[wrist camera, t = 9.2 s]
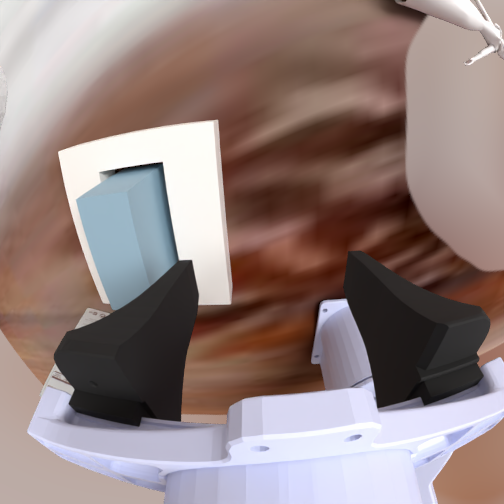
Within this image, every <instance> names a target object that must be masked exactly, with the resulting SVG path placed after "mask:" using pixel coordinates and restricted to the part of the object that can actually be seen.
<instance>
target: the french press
mask: <svg viewBox="0 0 504 504" xmlns="http://www.w3.org/2000/svg"><path fill="white" fill-rule="evenodd" d="M6 101H7V82H6V76H5V74H4V71H3V69H2V67H1V66H0V128H1V125H2V121H3V118H4V115H5V109H6Z"/></svg>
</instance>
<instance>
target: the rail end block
mask: <svg viewBox="0 0 504 504" xmlns="http://www.w3.org/2000/svg"><path fill="white" fill-rule="evenodd" d="M76 202H77V206H78V210H79V214H80V218H81V221H82V225H83V228H84V232H85V235H86V238H87V242H88V245H89V248H90V251H91V254H92V257H93V260H94V263H95V266H96V269H97V271H98V274H99V277H100V280H101V282H102V285H103V287H104V290H105V293H106V295H107V298H108V300H109V302H110V305H111V307H112V310H118V309H120V308H122V307H123V306H125V305H126V304H128V303H129V302H131V301H132V300H134V299H135V298H136V297H138V296H139V295H140V294H142V293H143V292H144V291H145V290H146V289H148V288H149V287H150V286H151V285H152V284H154V283H155V282H156V281H157V280H158V279H159V278H160V277H161V276H163V275H164V274H165V273H166V272H167V271H168V270H169V269H170V268H171V267H172V266H173V265H174V264H176V263H177V261H178V259H179V257H178V252H177V246H176V241H175V236H174V230H173V225H172V219H171V213H170V207H169V201H168V195H167V188H166V181H165V174H164V167H163V163H162V164H155V165H147V166H140V167H134V168H128V169H123V170H121V171H119V172H118V173H116V174H114V175H113V176H111V177H109V178H108V179H106V180H105V181H103V182H101V183H100V184H98V185H97V186H95V187H94V188H92V189H90V190H89V191H87V192H86V193H84V194H83V195H81V196H80V197H79V198H77V199H76Z"/></svg>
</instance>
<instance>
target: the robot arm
mask: <svg viewBox="0 0 504 504" xmlns="http://www.w3.org/2000/svg"><path fill="white" fill-rule="evenodd" d="M343 288H344V292H345V296H346V299H337V300H325V301H322V302H321V303H320V306H319V313H318V320H317V327H316V333H315V339H314V345H313V351H312V357H311V363H312V364H320V366H321V370H322V375H323V380H324V385H325V389H326V390H324V391H315V392H306V393H296V394H283V395H266V396H257V397H251V398H245V399H243V400H241V401H239V402H237V403H235V404H233V405H231V406H230V407H229V410H228V413H227V424H204V423H188V422H181V404H182V388H183V377H184V369H185V360H186V355H187V350H188V346H189V342H190V338H191V335H192V331H193V327H194V323H195V319H196V315H197V310H198V302H199V292H198V287H197V282H196V277H195V272H194V267H193V262H192V260H179V261H178V262H177V263H176V264H174V265H173V266H172V267H171V268H170V269H169V270H168V271H167V272H166V273H165V274H164V275H163V276H161V277H160V278H159V279H158V280H157V281H156V282H155V283H154V284H152V285H151V286H150V287H149V288H148V289H146V290H145V291H144V292H143V293H142V294H140V295H139V296H138V297H136V298H135V299H134V300H132V301H131V302H129V303H128V304H126V305H125V306H123V307H122V308H120V309H118V310H116V311H115V312H113V313H111V314H109V315H108V316H106V317H104V318H102V319H100V320H97V321H95V322H93V323H91V324H88V325H86V326H83V327H80V328H77V329H74V330H72V331H68V332H67V333H66V334H65V336H64V338H63V339H62V341H61V343H60V345H59V346H58V348H57V350H56V352H55V353H54V360H55V363H56V366H57V367H58V369H59V370H60V372H61V373H62V374H63V376H64V377H65V378H66V380H67V381H68V382H69V383H70V384H71V386H72V387H73V388H74V389H75V390H74V392H73V394H72V395H71V394H69V393H68V392H65V391H63V390H59V389H56V388H52V387H49V386H47V387H46V389H45V391H44V393H43V395H42V397H41V400H40V402H39V404H38V406H37V409H36V411H35V413H34V415H33V418H32V420H31V423H30V425H29V428H28V430H27V432H28V433H29V434H30V435H31V436H32V437H34V438H35V439H36V440H37V441H39V442H40V443H41V444H43V445H44V446H45V447H47V448H48V449H49V450H51V451H52V452H54V453H55V454H56V455H58V456H59V457H61V458H63V459H65V460H67V461H70V462H72V463H75V464H77V465H80V466H82V467H84V468H87V469H90V470H92V471H95V472H98V473H100V474H103V475H106V476H109V477H112V478H115V479H118V480H121V481H124V482H127V483H131V484H134V485H137V486H141V487H145V488H149V489H153V490H157V491H161V492H165V499H164V504H438V502H437V499H436V495H435V491H434V488H433V484H432V482H433V480H434V479H435V477H436V476H437V475H438V473H439V472H440V471H441V469H442V468H443V466H444V465H445V464H446V462H447V461H448V459H449V458H450V456H451V455H452V452H453V451H454V450H455V449H457V448H459V447H461V446H463V445H464V444H466V443H468V442H470V441H472V440H473V439H475V438H477V437H478V436H480V435H482V434H483V433H485V432H487V431H488V430H490V429H491V428H493V427H494V426H495V425H496V424H497V423H498V422H499V421H500V420H502V419H503V418H504V362H503V361H502V359H501V357H499V358H496V359H494V360H492V361H490V362H487V363H486V364H484V365H483V366H481V368H479V366H478V364H477V362H478V361H479V357H478V355H477V351H478V349H479V348H480V346H481V345H482V343H483V341H484V340H485V338H486V336H487V334H488V332H489V328H490V319H489V318H488V316H487V315H486V314H485V312H484V311H483V310H482V308H481V307H479V306H474V305H469V304H465V303H460V302H457V301H454V300H450V299H447V298H444V297H441V296H439V295H436V294H434V293H431V292H429V291H427V290H425V289H422V288H420V287H418V286H416V285H414V284H412V283H411V282H409V281H407V280H405V279H404V278H402V277H400V276H399V275H397V274H396V273H394V272H392V271H391V270H389V269H388V268H386V267H385V266H383V265H382V264H380V263H379V262H377V261H376V260H375V259H373V258H372V257H370V256H368V255H367V254H365V253H364V252H362V251H348V258H347V266H346V273H345V280H344V286H343ZM323 309H325V310H323Z"/></svg>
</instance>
